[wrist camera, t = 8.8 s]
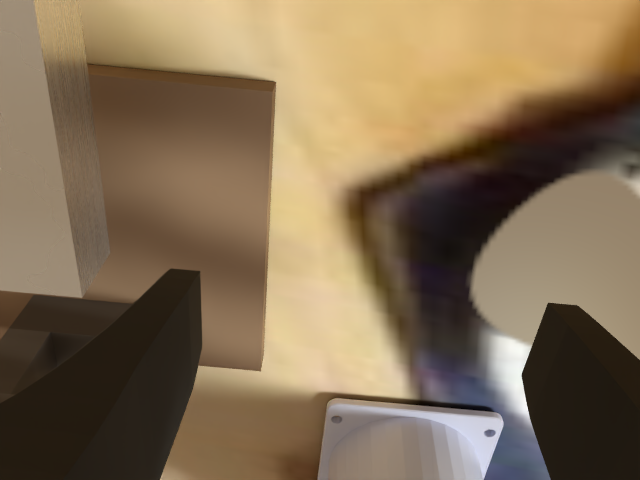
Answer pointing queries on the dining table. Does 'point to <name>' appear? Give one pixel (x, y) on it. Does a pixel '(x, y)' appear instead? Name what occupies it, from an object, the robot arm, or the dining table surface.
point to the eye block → (165, 218)
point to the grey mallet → (48, 153)
